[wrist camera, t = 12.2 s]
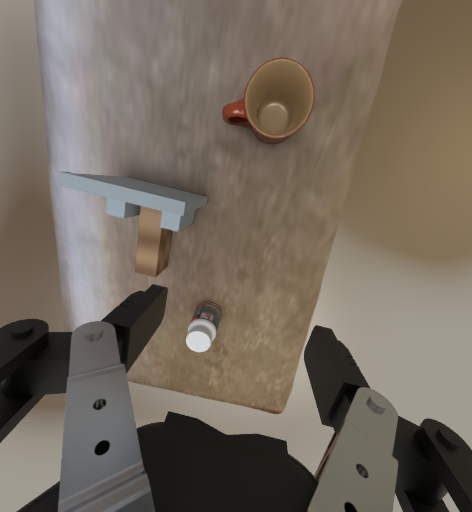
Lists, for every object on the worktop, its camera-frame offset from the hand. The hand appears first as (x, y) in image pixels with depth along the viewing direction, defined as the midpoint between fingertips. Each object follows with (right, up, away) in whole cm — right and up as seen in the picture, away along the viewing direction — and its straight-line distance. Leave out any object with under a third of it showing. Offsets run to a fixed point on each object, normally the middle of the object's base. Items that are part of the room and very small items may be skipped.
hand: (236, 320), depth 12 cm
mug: (+5, +26, +26) cm, 37 cm away
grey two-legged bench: (-14, +14, +32) cm, 37 cm away
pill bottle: (-6, -9, +39) cm, 40 cm away
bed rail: (-15, +8, +34) cm, 38 cm away
